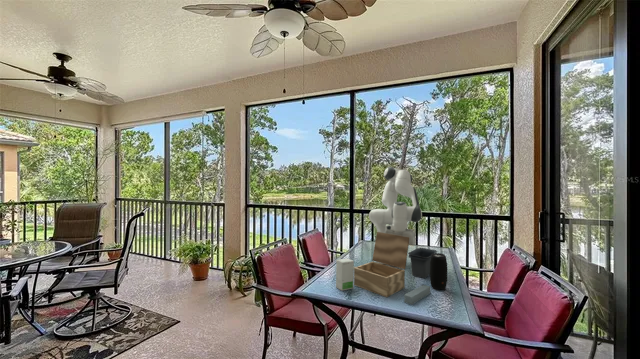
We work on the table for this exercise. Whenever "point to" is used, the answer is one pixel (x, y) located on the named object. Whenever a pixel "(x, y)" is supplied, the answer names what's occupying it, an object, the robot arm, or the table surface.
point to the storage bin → (421, 261)
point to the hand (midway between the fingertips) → (399, 249)
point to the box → (379, 278)
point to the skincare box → (344, 274)
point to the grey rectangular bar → (417, 294)
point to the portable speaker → (438, 271)
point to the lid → (391, 249)
